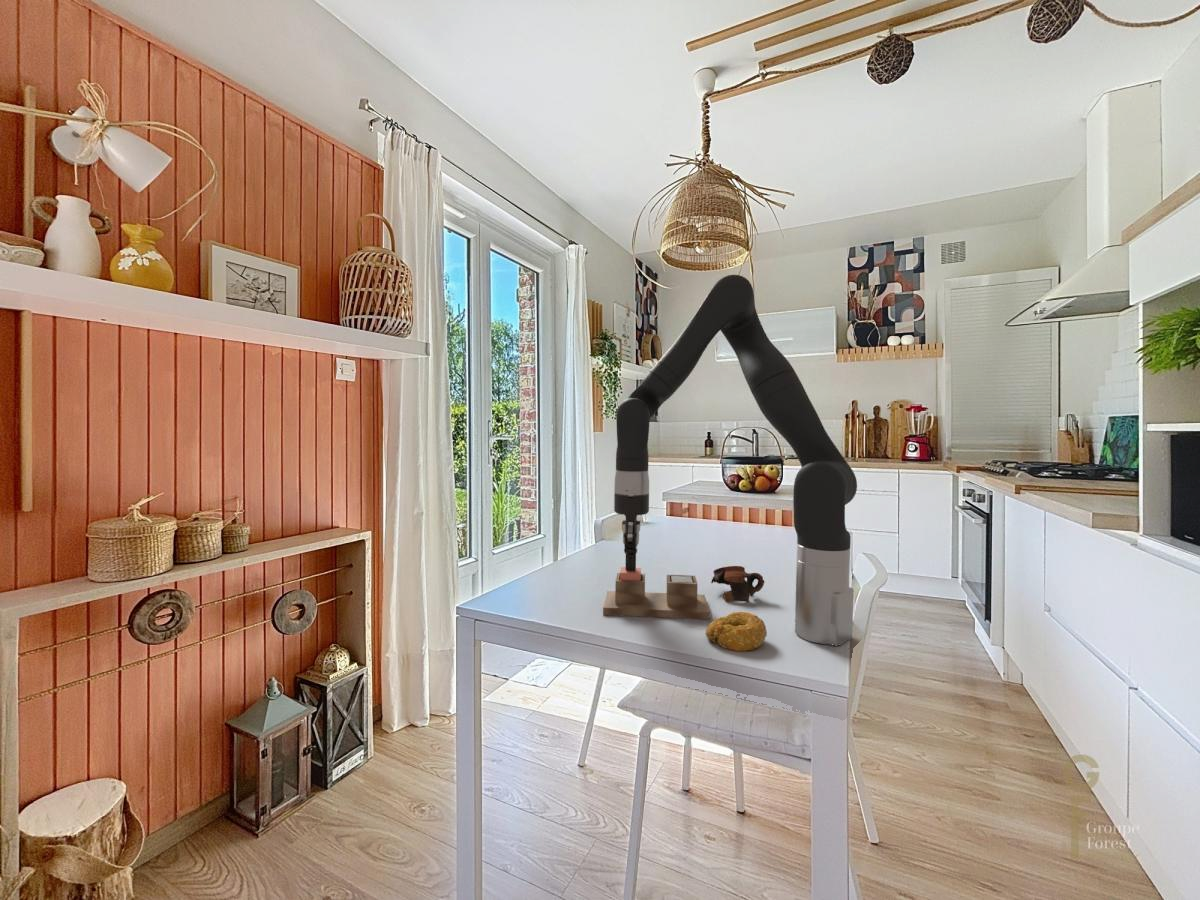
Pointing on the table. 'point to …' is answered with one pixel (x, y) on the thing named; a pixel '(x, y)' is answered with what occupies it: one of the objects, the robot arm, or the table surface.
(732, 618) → the bagel
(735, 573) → the pottery mug
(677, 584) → the wooden block stand
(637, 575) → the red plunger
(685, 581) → the white block
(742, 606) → the table surface
